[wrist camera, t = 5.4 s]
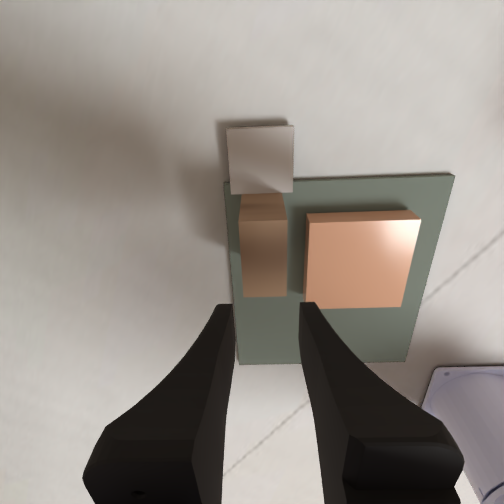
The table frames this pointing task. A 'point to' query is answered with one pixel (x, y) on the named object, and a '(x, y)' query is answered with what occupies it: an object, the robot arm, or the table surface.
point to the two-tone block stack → (262, 204)
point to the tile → (358, 258)
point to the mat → (287, 307)
